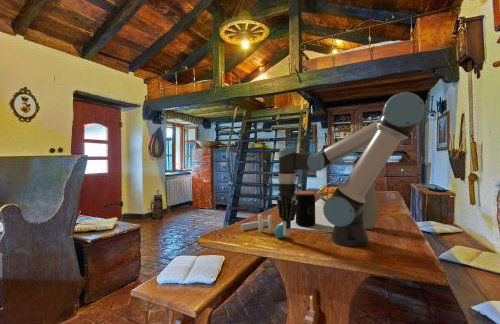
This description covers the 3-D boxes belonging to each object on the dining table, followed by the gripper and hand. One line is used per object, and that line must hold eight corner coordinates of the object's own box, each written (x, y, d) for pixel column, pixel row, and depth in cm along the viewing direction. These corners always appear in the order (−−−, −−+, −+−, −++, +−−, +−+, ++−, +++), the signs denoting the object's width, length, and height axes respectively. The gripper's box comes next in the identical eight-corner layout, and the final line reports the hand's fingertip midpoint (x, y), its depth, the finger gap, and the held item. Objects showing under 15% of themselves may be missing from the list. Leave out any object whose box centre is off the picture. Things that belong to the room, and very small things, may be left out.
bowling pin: (373, 225, 141) (373, 155, 140) (382, 231, 130) (381, 155, 129) (352, 225, 142) (351, 155, 142) (358, 231, 131) (358, 155, 130)
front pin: (273, 233, 128) (273, 216, 128) (269, 234, 127) (269, 216, 127) (271, 232, 130) (270, 215, 130) (267, 233, 129) (266, 215, 129)
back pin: (263, 231, 131) (263, 214, 131) (260, 232, 130) (259, 215, 130) (261, 230, 133) (261, 214, 133) (257, 231, 132) (257, 214, 132)
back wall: (271, 225, 143) (270, 220, 143) (242, 230, 134) (242, 224, 134) (268, 224, 145) (268, 219, 145) (240, 229, 136) (240, 223, 136)
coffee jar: (310, 228, 137) (310, 194, 137) (292, 225, 144) (292, 192, 143) (318, 223, 146) (318, 191, 145) (301, 221, 152) (300, 190, 152)
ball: (287, 222, 121) (279, 225, 126) (277, 225, 118) (270, 227, 123) (291, 235, 120) (283, 237, 124) (281, 238, 116) (273, 240, 121)
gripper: (303, 183, 113) (302, 237, 114) (284, 181, 124) (283, 230, 125) (290, 184, 109) (289, 240, 110) (271, 181, 120) (271, 232, 121)
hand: (286, 235), depth 117 cm, fingers closed
